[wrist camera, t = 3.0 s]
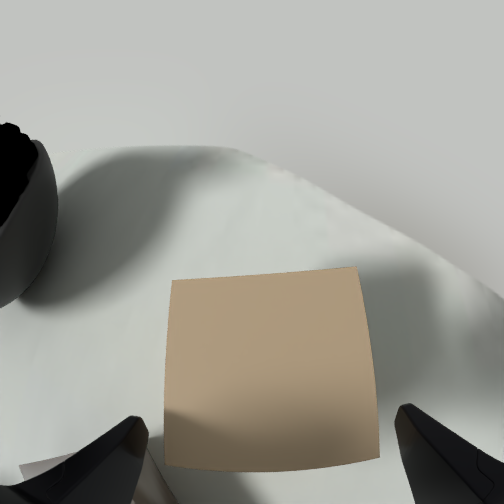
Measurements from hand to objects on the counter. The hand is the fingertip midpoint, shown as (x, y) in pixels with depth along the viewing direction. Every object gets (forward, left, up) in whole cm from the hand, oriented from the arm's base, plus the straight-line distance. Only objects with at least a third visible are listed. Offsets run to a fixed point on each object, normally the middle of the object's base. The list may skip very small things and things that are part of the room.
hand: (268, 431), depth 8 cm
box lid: (+2, -1, -3) cm, 4 cm away
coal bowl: (+20, +23, -10) cm, 32 cm away
